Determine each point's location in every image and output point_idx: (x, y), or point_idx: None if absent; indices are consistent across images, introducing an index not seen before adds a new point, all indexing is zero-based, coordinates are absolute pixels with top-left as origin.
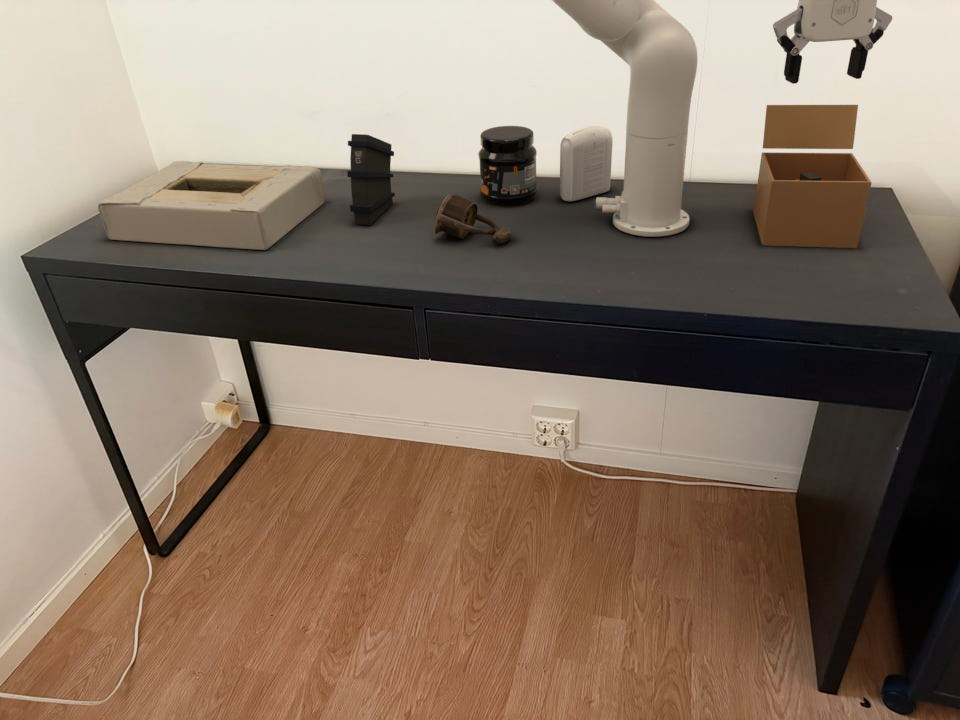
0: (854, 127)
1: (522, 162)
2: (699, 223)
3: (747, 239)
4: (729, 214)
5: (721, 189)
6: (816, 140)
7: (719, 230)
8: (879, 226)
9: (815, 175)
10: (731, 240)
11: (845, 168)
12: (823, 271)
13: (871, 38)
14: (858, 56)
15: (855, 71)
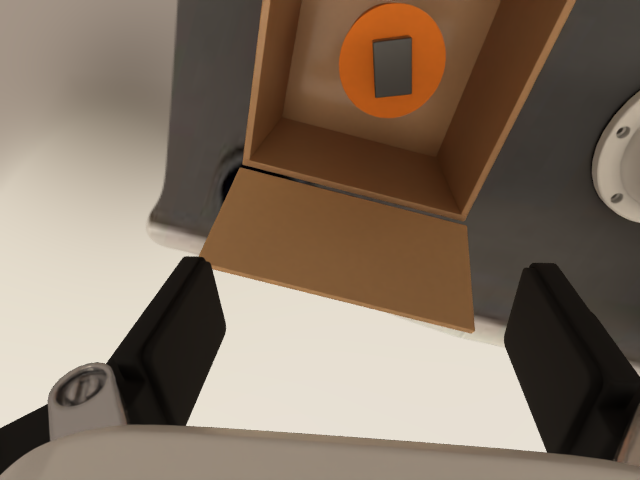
0: (223, 208)
1: None
2: (578, 126)
3: None
4: None
5: None
6: (330, 206)
7: (560, 78)
8: (221, 40)
9: (381, 64)
10: (571, 11)
11: (262, 148)
12: None
13: (42, 444)
14: (169, 348)
15: (202, 292)
